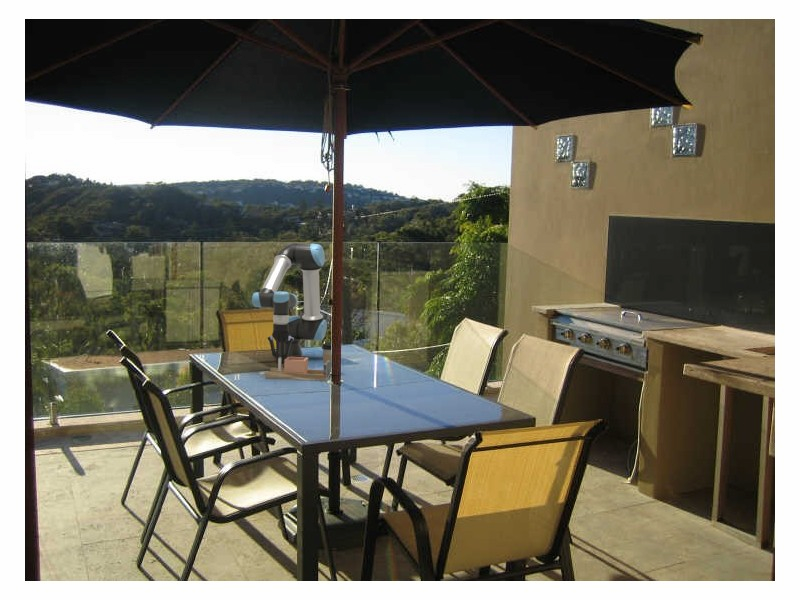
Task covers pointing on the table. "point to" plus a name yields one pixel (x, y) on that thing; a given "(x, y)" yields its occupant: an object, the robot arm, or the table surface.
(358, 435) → the table surface
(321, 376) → the bay
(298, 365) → the box
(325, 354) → the coffee cup
